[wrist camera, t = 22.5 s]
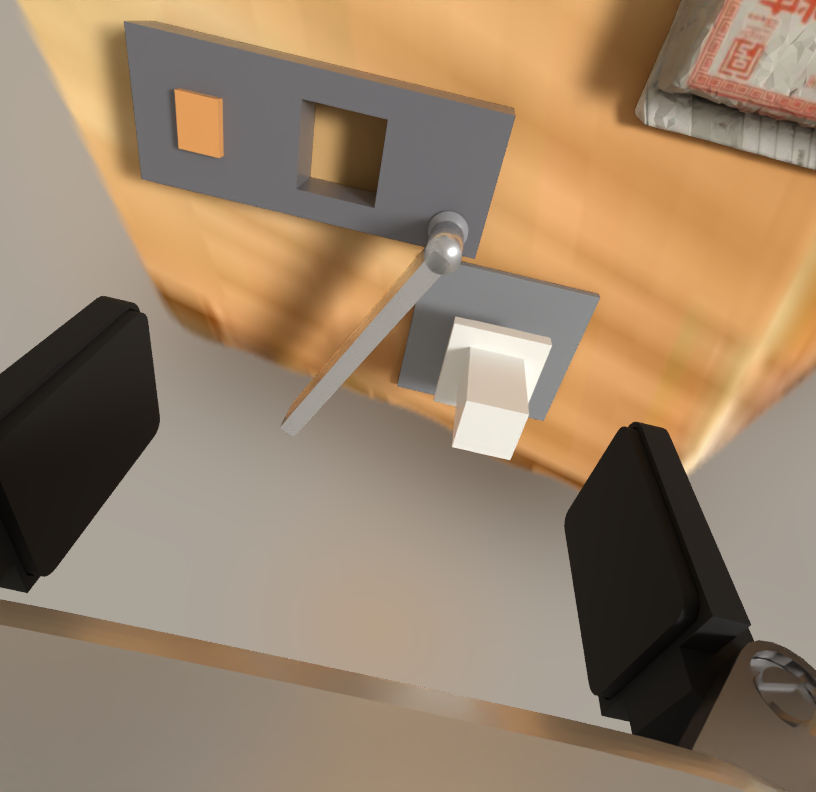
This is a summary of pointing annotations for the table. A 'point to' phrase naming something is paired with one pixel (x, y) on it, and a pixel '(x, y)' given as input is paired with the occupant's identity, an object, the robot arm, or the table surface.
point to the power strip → (308, 135)
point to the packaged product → (739, 77)
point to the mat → (496, 323)
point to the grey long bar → (380, 321)
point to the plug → (490, 384)
